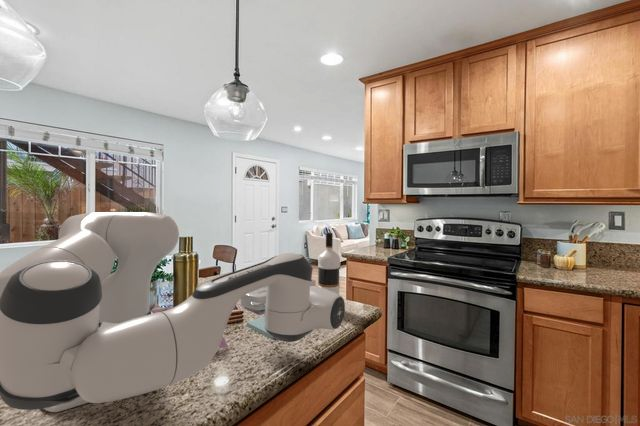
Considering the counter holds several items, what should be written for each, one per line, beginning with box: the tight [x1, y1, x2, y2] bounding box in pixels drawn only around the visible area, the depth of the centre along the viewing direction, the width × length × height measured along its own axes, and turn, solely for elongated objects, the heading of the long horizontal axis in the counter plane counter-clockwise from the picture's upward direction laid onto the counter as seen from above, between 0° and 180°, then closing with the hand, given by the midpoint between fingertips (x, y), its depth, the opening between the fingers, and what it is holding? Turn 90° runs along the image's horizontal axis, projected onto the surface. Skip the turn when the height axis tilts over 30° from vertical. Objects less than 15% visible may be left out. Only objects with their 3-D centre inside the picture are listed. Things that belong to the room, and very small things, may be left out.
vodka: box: [317, 232, 341, 295], centre depth 115 cm, size 9×9×30 cm
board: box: [246, 315, 275, 340], centre depth 103 cm, size 16×14×6 cm
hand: (260, 287), depth 89 cm, fingers closed on sleeve, 6 cm apart
